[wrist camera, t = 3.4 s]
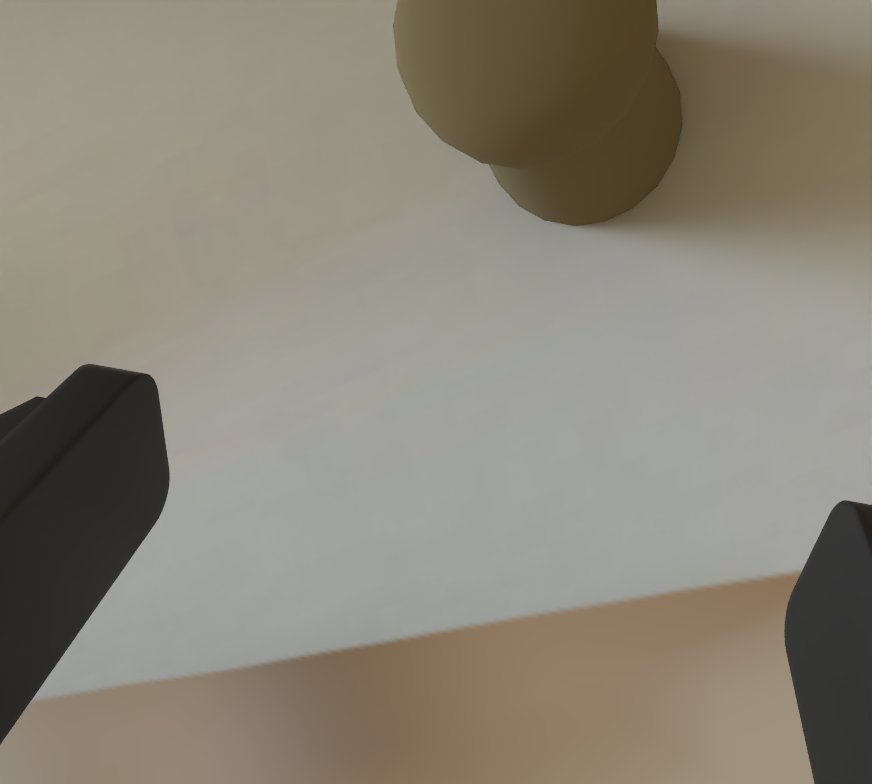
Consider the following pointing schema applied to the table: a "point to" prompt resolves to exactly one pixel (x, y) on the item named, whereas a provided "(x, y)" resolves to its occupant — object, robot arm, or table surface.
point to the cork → (546, 96)
